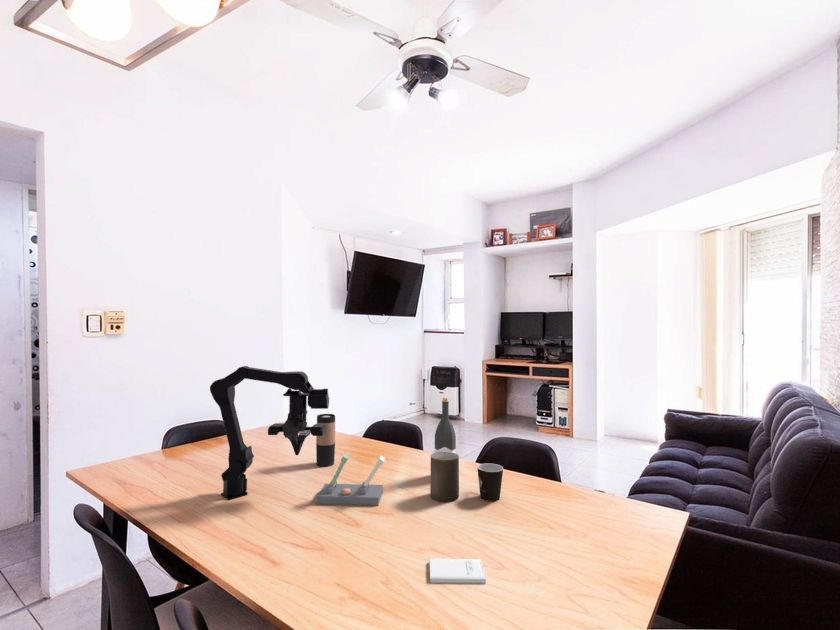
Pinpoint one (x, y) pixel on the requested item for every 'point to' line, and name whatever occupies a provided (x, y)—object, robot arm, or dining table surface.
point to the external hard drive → (456, 571)
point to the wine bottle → (445, 431)
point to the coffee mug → (490, 481)
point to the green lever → (338, 471)
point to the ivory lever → (373, 472)
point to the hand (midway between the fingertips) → (297, 454)
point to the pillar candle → (444, 476)
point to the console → (350, 494)
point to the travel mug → (326, 441)
